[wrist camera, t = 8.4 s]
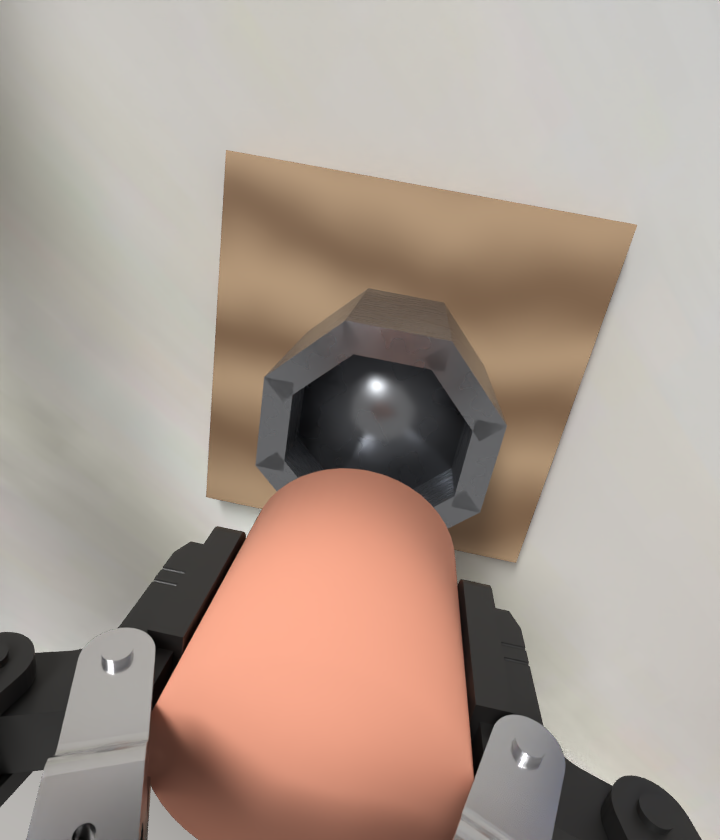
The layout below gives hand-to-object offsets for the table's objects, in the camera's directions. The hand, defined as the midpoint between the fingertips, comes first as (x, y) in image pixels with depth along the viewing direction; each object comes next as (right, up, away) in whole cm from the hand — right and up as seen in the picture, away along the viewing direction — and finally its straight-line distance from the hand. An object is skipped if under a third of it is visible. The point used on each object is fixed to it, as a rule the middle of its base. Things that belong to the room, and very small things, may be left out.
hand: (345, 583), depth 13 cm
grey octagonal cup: (+2, +6, +15) cm, 17 cm away
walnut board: (+2, +7, +17) cm, 18 cm away
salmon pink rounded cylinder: (0, 0, +1) cm, 1 cm away
